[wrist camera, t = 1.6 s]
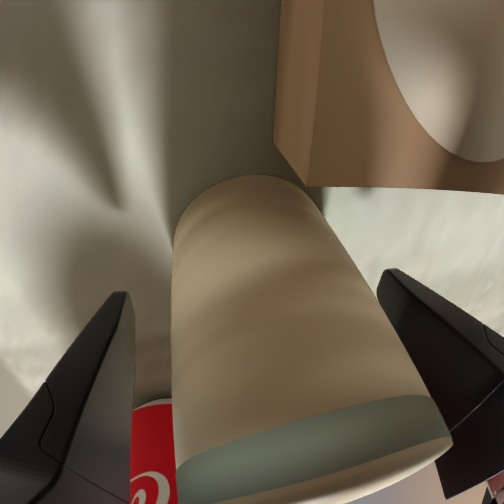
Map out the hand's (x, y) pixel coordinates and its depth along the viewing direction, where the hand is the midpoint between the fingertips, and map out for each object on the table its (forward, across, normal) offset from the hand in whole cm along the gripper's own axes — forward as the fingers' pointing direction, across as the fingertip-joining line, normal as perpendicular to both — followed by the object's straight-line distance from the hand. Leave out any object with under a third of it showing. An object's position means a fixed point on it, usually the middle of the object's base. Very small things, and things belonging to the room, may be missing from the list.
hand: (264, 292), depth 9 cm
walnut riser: (+2, -5, -8) cm, 10 cm away
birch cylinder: (+2, 0, 0) cm, 2 cm away
